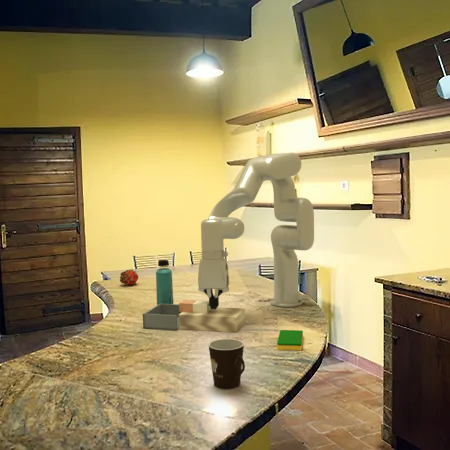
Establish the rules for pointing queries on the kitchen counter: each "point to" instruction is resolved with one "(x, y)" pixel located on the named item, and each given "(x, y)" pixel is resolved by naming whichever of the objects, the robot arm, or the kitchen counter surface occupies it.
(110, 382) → the kitchen counter surface
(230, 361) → the coffee mug
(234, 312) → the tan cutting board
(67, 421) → the kitchen counter surface
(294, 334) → the dish sponge
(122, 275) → the dragon fruit
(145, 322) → the tray
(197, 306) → the cream square block
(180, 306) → the orange square block
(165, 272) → the beverage bottle
